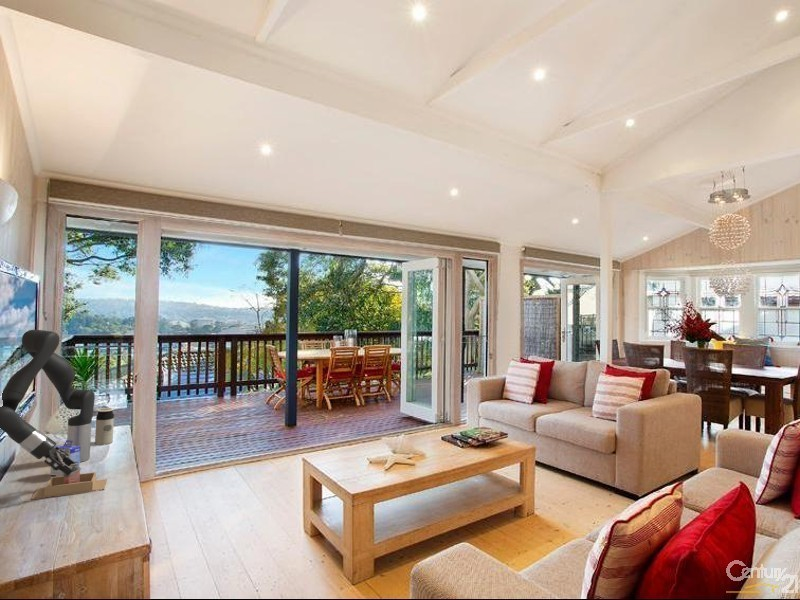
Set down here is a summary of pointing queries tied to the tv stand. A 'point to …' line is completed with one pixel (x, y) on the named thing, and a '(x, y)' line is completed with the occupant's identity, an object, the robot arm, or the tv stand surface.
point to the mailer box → (70, 486)
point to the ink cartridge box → (73, 455)
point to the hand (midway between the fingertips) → (72, 469)
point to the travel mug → (104, 426)
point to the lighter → (72, 474)
